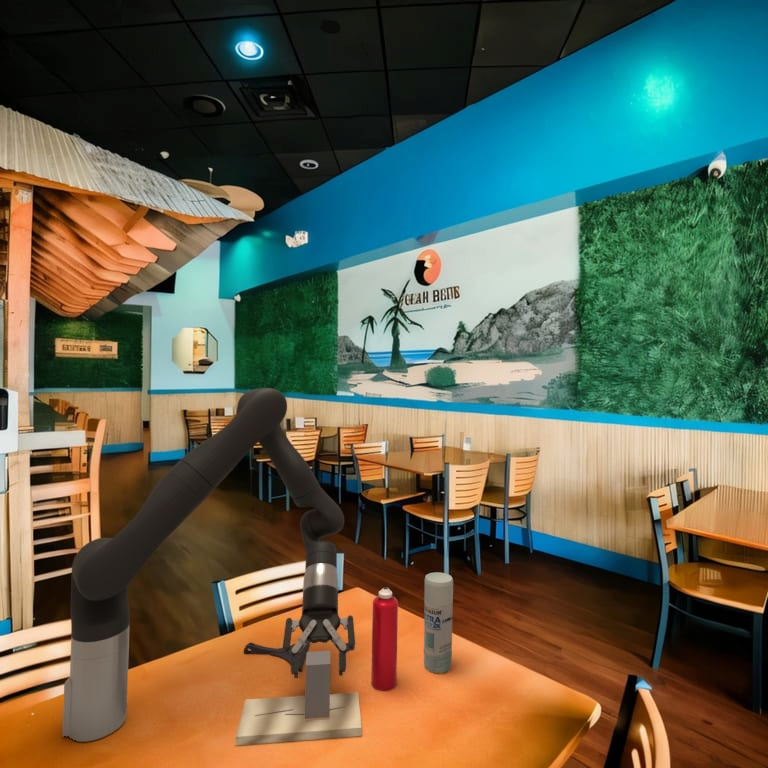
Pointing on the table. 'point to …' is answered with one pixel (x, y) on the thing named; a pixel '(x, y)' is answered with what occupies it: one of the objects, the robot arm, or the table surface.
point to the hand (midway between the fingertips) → (318, 675)
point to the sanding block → (317, 686)
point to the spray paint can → (438, 622)
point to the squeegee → (277, 652)
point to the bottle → (384, 641)
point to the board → (297, 720)
